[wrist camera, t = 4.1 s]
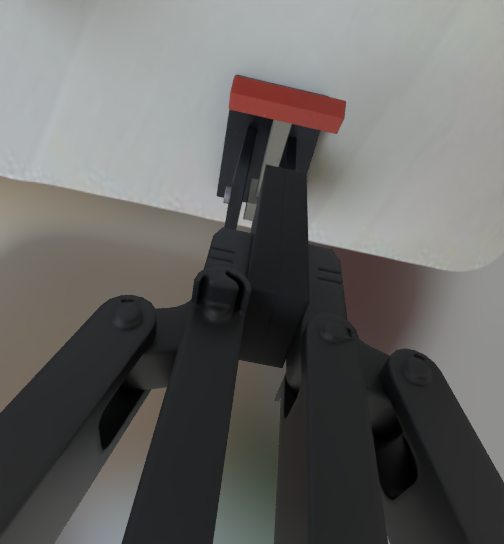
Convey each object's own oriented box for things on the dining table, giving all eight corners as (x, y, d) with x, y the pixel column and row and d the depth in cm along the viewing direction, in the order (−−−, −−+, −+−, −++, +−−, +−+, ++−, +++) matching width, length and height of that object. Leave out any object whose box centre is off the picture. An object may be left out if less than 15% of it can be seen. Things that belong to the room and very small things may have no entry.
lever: (236, 67, 22) (228, 99, 21) (347, 93, 23) (343, 126, 22) (224, 190, 34) (218, 214, 34) (296, 206, 35) (292, 229, 34)
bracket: (235, 74, 37) (212, 125, 27) (328, 96, 37) (338, 153, 28) (218, 190, 45) (196, 260, 35) (294, 206, 45) (293, 280, 36)
